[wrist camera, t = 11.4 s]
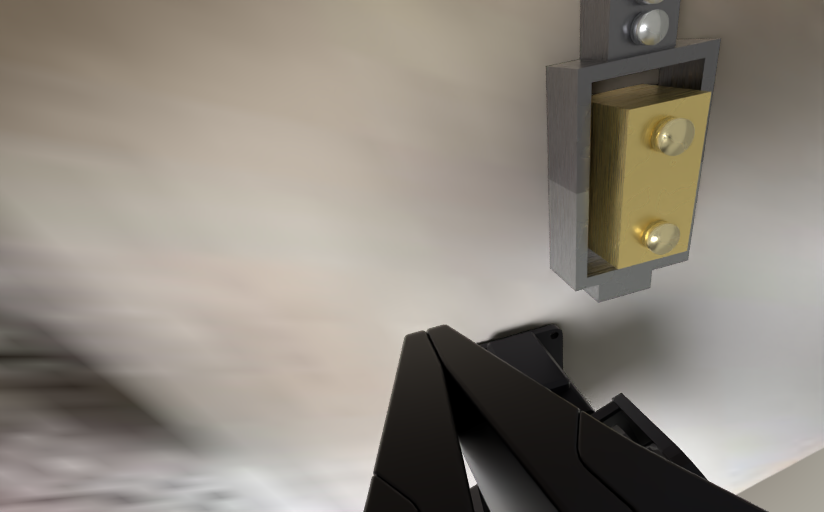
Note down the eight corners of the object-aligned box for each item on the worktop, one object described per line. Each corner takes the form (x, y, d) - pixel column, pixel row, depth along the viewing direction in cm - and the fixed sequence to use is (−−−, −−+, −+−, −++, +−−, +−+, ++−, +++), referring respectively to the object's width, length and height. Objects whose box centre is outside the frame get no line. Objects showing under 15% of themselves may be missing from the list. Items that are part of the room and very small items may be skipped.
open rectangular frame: (650, 263, 25) (685, 286, 23) (550, 291, 24) (576, 316, 22) (682, -41, 18) (736, -53, 16) (544, -15, 17) (579, -23, 15)
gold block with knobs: (630, 220, 23) (697, 256, 19) (570, 235, 23) (626, 275, 19) (641, 83, 20) (724, 93, 16) (572, 98, 20) (639, 112, 16)
